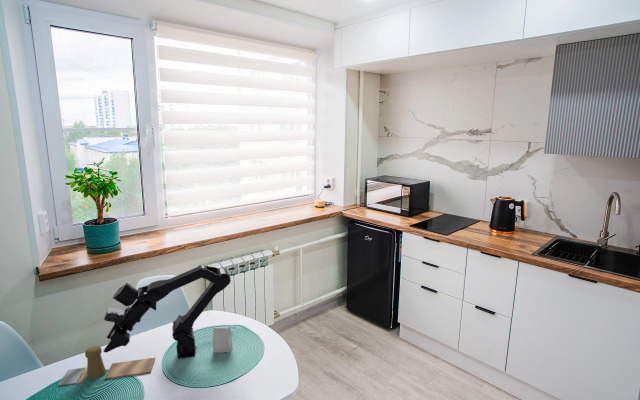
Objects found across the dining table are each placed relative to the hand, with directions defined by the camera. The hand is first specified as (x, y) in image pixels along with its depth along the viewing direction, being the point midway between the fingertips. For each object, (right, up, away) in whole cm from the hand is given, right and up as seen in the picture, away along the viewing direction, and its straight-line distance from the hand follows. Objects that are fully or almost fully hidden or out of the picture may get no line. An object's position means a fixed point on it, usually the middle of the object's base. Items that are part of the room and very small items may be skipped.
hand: (106, 344), depth 135 cm
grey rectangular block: (+39, -8, +15) cm, 43 cm away
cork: (-4, -11, +1) cm, 12 cm away
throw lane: (-1, -11, +2) cm, 11 cm away
